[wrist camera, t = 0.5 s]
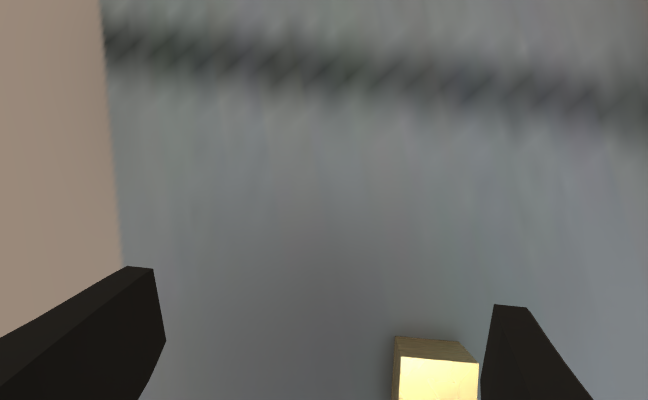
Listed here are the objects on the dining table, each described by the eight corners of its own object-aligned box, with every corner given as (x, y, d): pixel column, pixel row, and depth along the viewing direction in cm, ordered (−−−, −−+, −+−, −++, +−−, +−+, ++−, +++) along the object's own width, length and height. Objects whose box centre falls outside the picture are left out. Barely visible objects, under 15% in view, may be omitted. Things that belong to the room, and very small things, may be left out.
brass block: (455, 406, 34) (474, 442, 28) (391, 400, 34) (396, 434, 28) (458, 341, 34) (478, 363, 28) (395, 336, 34) (401, 356, 28)
